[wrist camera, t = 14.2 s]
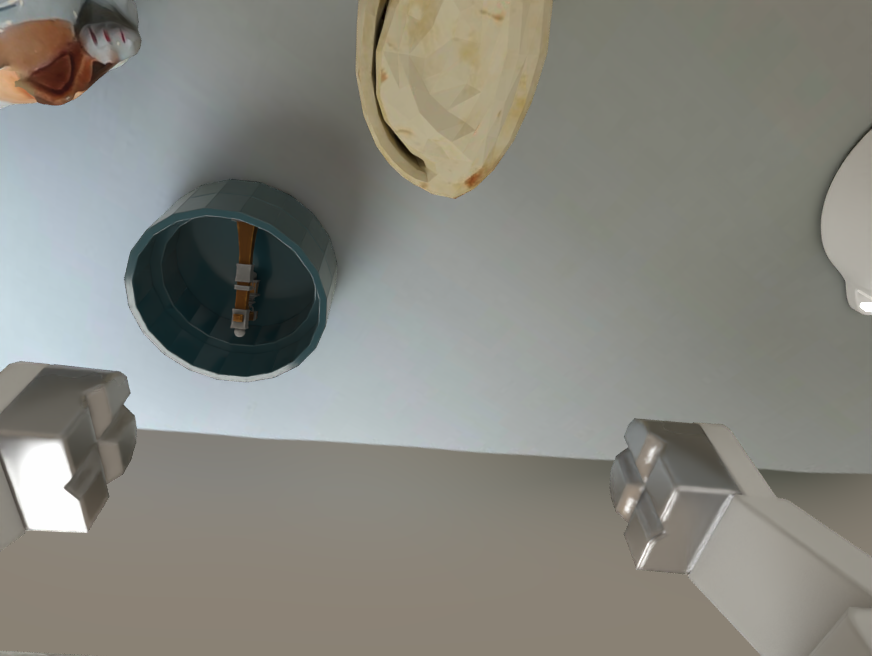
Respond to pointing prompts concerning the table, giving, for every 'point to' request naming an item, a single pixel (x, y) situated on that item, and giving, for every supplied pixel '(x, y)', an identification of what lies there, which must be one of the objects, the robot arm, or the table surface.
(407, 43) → the food model
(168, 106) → the table surface
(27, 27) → the lucky cat figurine
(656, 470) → the robot arm
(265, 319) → the teal round bowl
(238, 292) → the wooden post with brackets
